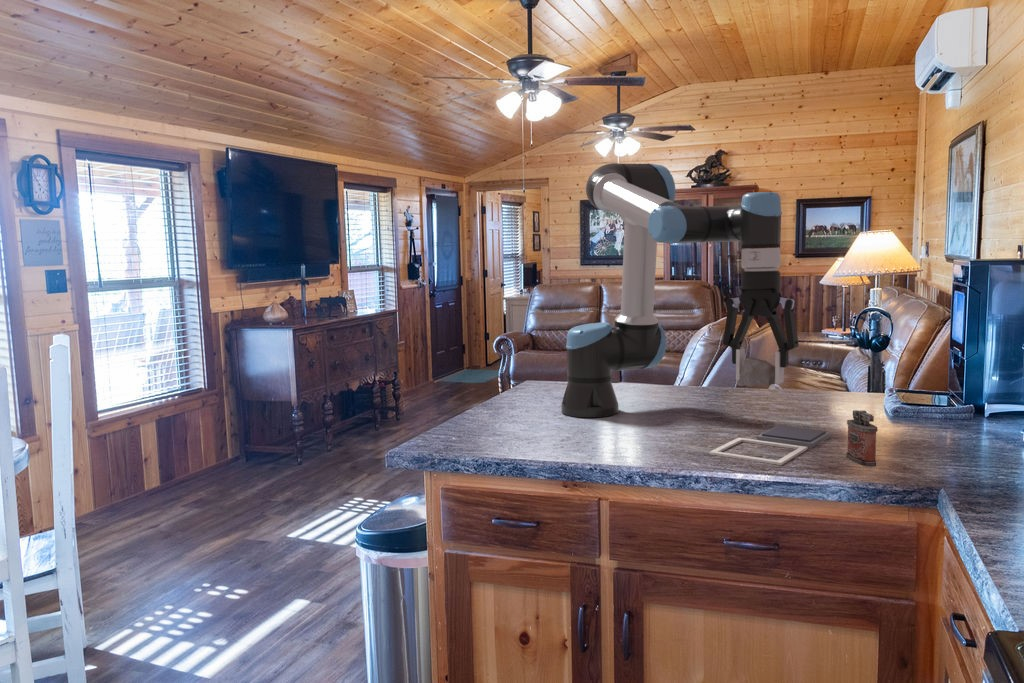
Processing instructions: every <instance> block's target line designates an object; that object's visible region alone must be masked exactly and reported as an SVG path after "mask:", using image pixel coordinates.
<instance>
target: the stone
mask: <svg viewBox="0 0 1024 683" xmlns="http://www.w3.org/2000/svg"><path fill="white" fill-rule="evenodd" d="M736 385H737V386H739V387H745V386H746V387H750V388H751V387H758V386H759V387H766V386H772V385H776V384H775V365H773V364H771V362H769V361H767V360H764V359H760V358H757V357H754V356H748V357H746V358H745V360H744V361H743V364H742V368H741V374H740V375H739V379H738V381H736Z"/></svg>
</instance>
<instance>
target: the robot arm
mask: <svg viewBox="0 0 1024 683" xmlns="http://www.w3.org/2000/svg"><path fill="white" fill-rule="evenodd" d="M585 194H586V197H587V200H588V202H590V204H591V205H592V206H594V208H596V209H598V210H600V211H602V212H604V213H615V214H617V215H618V216H619V218H620V219H621V220H622V221H623V223H624V231H623V232H624V238H623V252H622V253H623V256H622V258H623V259H622V275H621V277H622V278H621V279H622V280H621V299H620V302H621V303H620V312H619V314H618V315H616V317H615V318H614V327H613V326H612V325H611V323H610V322H595V323H594V322H593V323H586V324H585V323H584V324H580V325H577V326H573V327H572V328H570V329H569V330H568V332H567V334H566V345H565V348H566V366H567V367H566V371H567V373H566V374H567V375H566V376H567V377H566V378H567V383H566V388H565V391H564V395H563V398H562V401H561V404H560V406H561V408H560V409H561V413H562V414H563V415H566V416H570V417H577V418H604V417H610V416H613V415H617V414H618V413H619V402H618V400H617V398H618V397H617V395H616V393H615V392H616V391H615V390H614V386H613V382H612V372H616V371H617V372H618V371H630V370H645V369H649V368H654V367H656V366H658V364H659V363H661V361H662V360H663V358H664V356H665V353H666V350H667V337H666V336H665V335H666V332H665V330H664V329H663V327H662V326H660V325H659V319H658V318H657V317H656V316H655V315H654V308H655V307H654V304H655V303H654V302H655V290H656V288H655V287H656V286H655V285H656V268H657V253H658V252H657V251H658V249H657V248H658V243H659V244H662V243H664V244H668V245H672V244H684V243H685V244H686V243H687V244H688V243H689V244H690V243H720V244H721V243H722V244H723V243H727V244H728V243H730V242H741V248H740V249H741V257H740V258H741V261H740V262H741V266H740V267H741V268H742V269H744V270H743V271H742V272H741V274H740V281H741V282H740V288H741V292H740V295H739V297H730V298H726V300H725V301H726V308H727V313H726V319H725V326H724V332H723V333H724V335H723V340H722V344H723V345H724V346H727V347H729V348H730V349H731V363H732V364H734V365H735V381H736V382H737V381H738V379H739V375H740V374H741V368H742V364H743V361H744V360H745V359H746V358H745V357H746V356H745V355H746V348H745V347H744V348H743V343H744V340H745V338H746V336H747V333H748V330H749V327H750V325H751V323H752V320H753V319H754V318H755V316H760V317H765V319H766V321H768V324H769V326H770V329H771V332H772V333H773V334H772V335H773V337H774V339H775V341H776V345H777V348H778V350H777V351H775V354H774V356H775V357H774V358H775V359H774V360H775V362H774V363H775V365H774V366H775V384H774V385H780V384H783V383H784V382H785V381H784V380H785V375H784V373H785V371H784V370H785V368H787V367H788V366H789V354H790V351H791V350H794V349H796V348H798V347H799V339H798V338H799V337H798V331H797V324H796V323H797V322H796V314H795V308H796V303H797V302H796V301H797V300H796V299H795V298H785V297H782V294H781V272H780V271H779V270H778V269H779V268H781V239H782V238H781V236H782V233H781V231H782V213H783V212H782V204H781V203H782V202H781V195H780V193H777V192H774V191H759V192H757V191H756V192H748V193H744V194H743V195H742V198H741V204H740V205H725V206H724V205H722V206H721V205H717V206H715V205H713V206H711V205H709V206H708V205H707V206H702V205H698V206H697V205H696V206H688V205H682V204H679V203H678V202H675V200H676V183H675V180H674V177H673V175H672V174H671V172H670V170H669V169H668V168H667V167H666V166H664V165H662V164H655V163H618V162H615V163H614V162H612V163H611V162H610V163H607V164H603V165H601V166H599V167H597V168H596V169H595V170H593V171H592V173H591V174H590V175H589V177H588V178H587V181H586V184H585ZM740 304H741V305H742V307H743V309H744V310H743V313H742V315H741V320H740V323H739V324H738V328H737V329H736V325H737V319H738V314H739V313H738V311H739V307H740ZM779 305H781V308H782V309H783V318H784V324H785V332H784V329H783V327H782V324H781V322H780V319H779V314H778V311H777V308H778V307H779ZM785 333H786V334H785Z"/></svg>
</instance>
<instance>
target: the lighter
mask: <svg viewBox="0 0 1024 683" xmlns="http://www.w3.org/2000/svg"><path fill="white" fill-rule="evenodd" d="M874 418H875V417H874V415H873V414H871V413H869V412H867V411H866V410H863V409H862V410H859V409H858V410H857V409H854V410H852V419H848V420H846V425H847V452H846V453H845V454H846V456H845V457H846V459H848V460H850V462H853V463H855V464H857V465H860V466H863V467H866V468H869V467H870V468H875V467H877V459H876V454H877V451H876V450H877V449H876V448H877V432H878V427H877V426H876V425H874V424H872V423H871V422H874V420H875V419H874Z"/></svg>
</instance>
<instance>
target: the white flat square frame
mask: <svg viewBox="0 0 1024 683" xmlns="http://www.w3.org/2000/svg"><path fill="white" fill-rule="evenodd" d="M741 442H743V443H749V444H755V445H756V444H758V445H763V446H770V447H771V446H772V447H778V448H785V449H792V450H793V451H791V452H789V453H787V454H786V455H785V456H783V457H780V458H779V459H778V460H777V459H776V460H775V459H771V458H763V457H756V456H748V455H743V454H737V453H729V452H724V451H726V450H729V449H730V448H732V447H733V446H736V445H738V444H740V443H741ZM808 449H809V448H808V447H805V446H797V445H790V444H782V443H775V442H768V441H760V440H757V439H752V438H745V437H737V438H735V439H733V440H731V441H729V442H727V443H724V444H723V445H720V446H718V447H715V448H714V449H712V450H711V451H709V452H708V454H709V455H712V456H718V457H725V458H731V459H738V460H745V461H751V462H756V463H757V462H758V463H762V464H769V465H777V466H782V465H784V464H786V463H788V462H789V461H790V460H793V459H794V458H796V457H797V456H799V455H800V454H802V453H804V452H805V451H807V450H808Z"/></svg>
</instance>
